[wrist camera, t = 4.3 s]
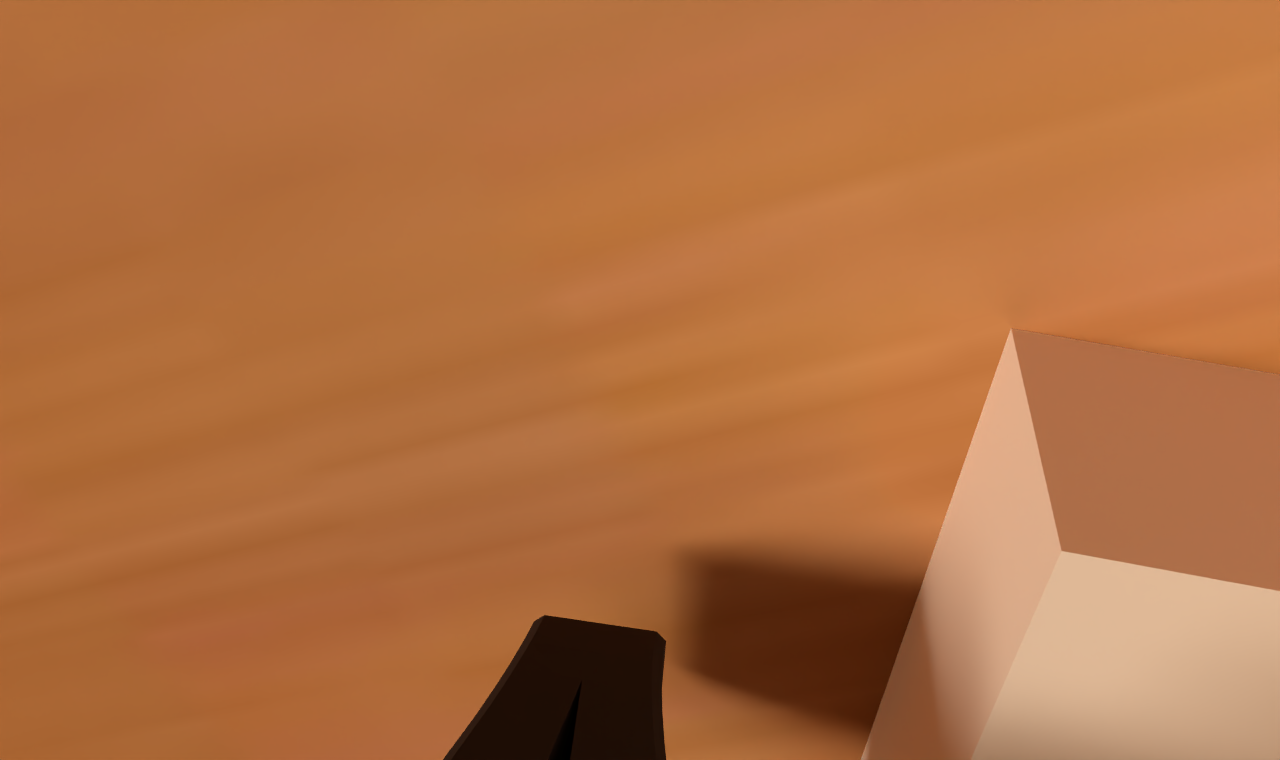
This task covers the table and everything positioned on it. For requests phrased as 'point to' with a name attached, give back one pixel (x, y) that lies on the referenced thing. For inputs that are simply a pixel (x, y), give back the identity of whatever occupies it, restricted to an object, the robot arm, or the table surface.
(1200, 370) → the wooden block
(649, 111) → the table surface
